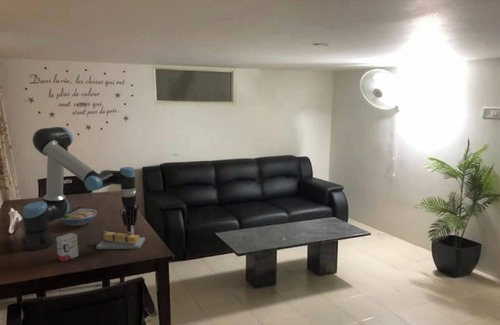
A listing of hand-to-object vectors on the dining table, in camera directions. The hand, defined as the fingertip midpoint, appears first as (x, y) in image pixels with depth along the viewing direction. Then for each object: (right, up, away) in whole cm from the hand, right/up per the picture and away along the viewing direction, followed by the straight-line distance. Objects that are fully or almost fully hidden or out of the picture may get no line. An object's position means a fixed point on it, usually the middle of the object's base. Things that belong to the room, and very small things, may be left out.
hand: (131, 236), depth 214 cm
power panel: (-5, -4, 0) cm, 7 cm away
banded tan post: (-6, -2, -1) cm, 6 cm away
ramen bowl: (-44, +1, +34) cm, 55 cm away
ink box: (-26, -8, -18) cm, 33 cm away
